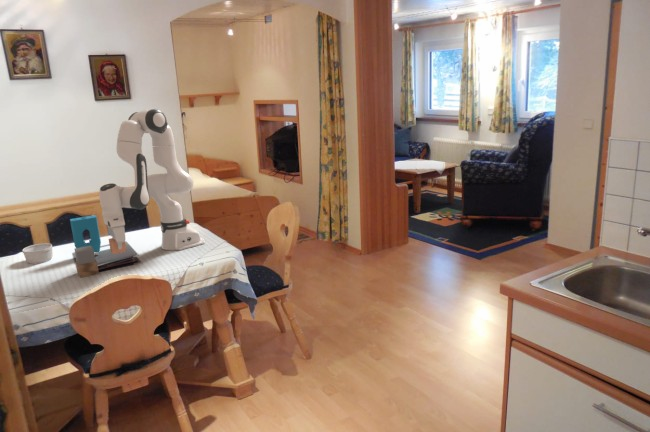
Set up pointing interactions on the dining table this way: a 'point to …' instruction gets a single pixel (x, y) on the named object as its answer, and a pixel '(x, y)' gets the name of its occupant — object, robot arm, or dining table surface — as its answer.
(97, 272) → the tower base
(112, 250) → the terracotta cube
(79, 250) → the tower top
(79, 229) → the block
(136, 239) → the dining table surface
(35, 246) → the ramekin
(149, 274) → the dining table surface
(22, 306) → the dining table surface
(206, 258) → the dining table surface
